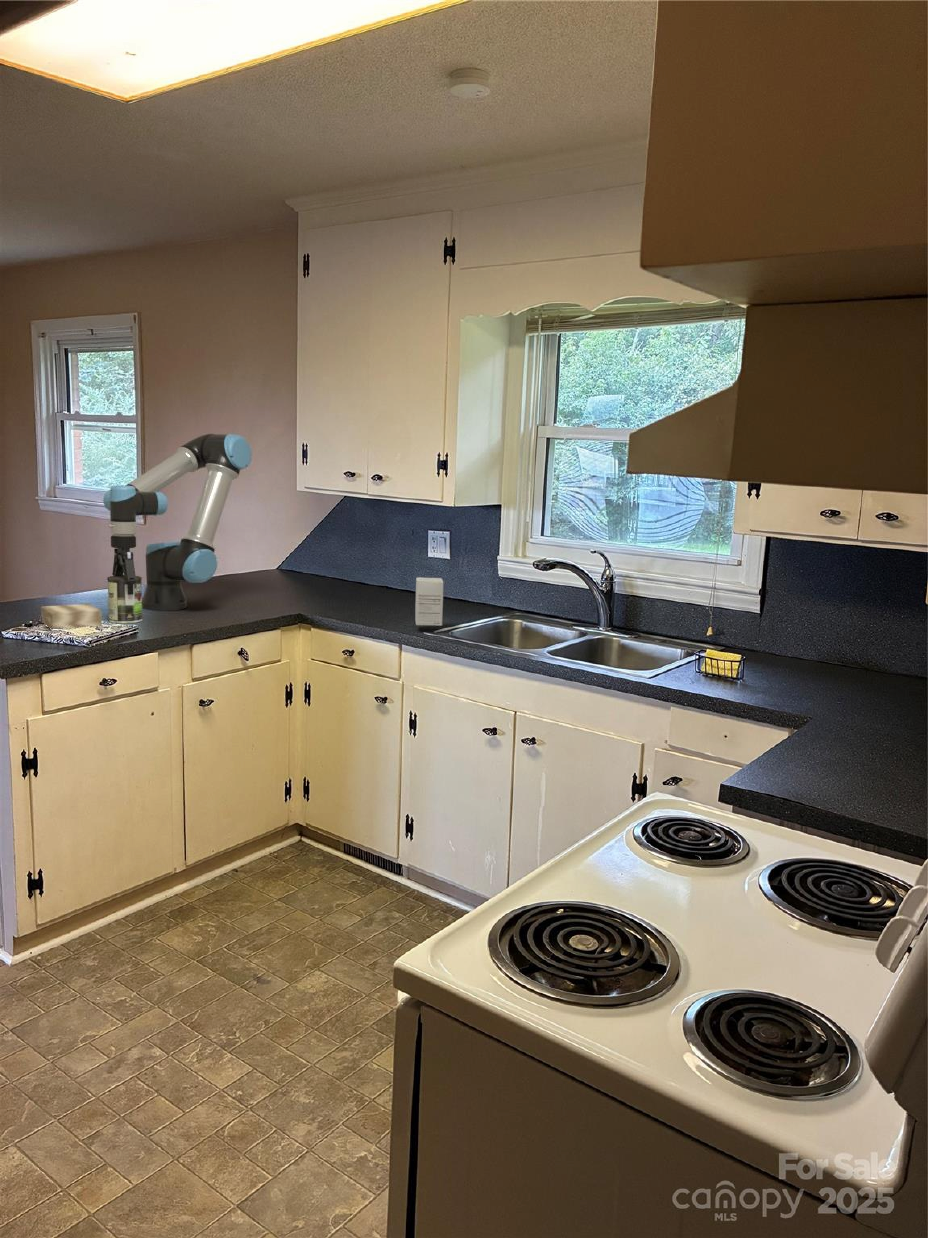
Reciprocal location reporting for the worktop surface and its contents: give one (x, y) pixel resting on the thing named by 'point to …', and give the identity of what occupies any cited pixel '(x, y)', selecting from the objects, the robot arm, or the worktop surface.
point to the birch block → (71, 616)
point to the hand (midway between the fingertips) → (124, 601)
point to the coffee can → (123, 601)
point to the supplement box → (429, 601)
